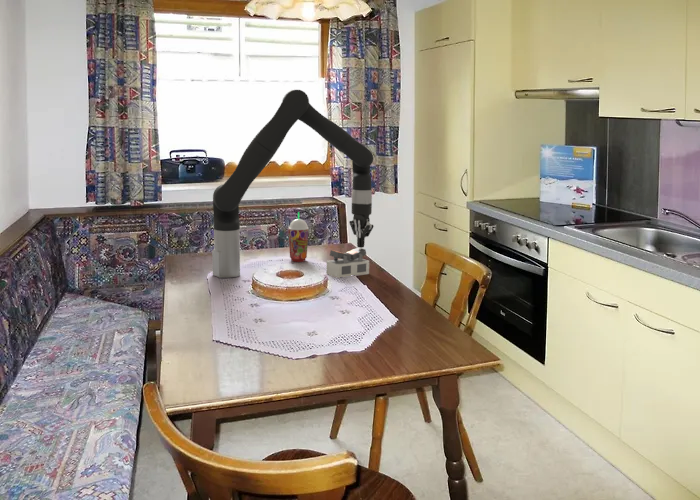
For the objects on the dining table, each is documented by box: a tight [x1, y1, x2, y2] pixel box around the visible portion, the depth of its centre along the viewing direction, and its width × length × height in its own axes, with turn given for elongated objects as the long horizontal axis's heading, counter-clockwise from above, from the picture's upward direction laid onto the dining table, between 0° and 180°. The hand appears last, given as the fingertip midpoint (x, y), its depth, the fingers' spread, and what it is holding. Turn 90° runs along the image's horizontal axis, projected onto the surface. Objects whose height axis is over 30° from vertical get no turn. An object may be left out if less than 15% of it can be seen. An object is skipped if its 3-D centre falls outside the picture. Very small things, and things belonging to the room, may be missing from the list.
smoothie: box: [287, 211, 310, 263], centre depth 278 cm, size 8×8×20 cm
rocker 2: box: [345, 247, 367, 260], centre depth 258 cm, size 6×5×2 cm
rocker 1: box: [329, 249, 351, 260], centre depth 254 cm, size 6×5×2 cm
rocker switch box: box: [325, 254, 370, 279], centre depth 257 cm, size 14×8×8 cm, turn 125°
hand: (360, 247), depth 259 cm, fingers closed
